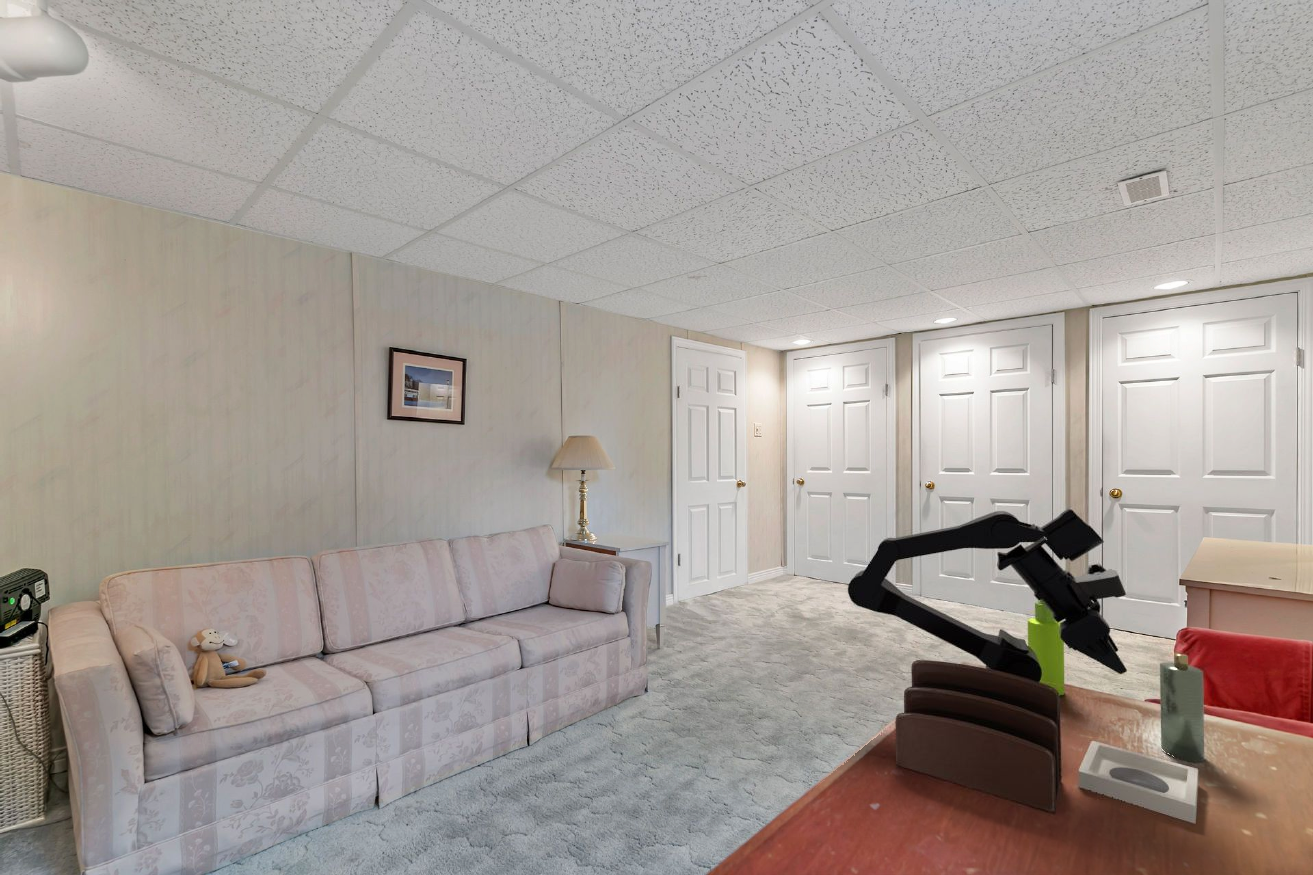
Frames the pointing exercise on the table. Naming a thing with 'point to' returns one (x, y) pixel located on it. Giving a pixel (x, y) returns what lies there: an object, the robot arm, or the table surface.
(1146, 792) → the tray
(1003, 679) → the letter holder
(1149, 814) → the table surface
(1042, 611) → the soap dispenser
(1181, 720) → the green bottle
